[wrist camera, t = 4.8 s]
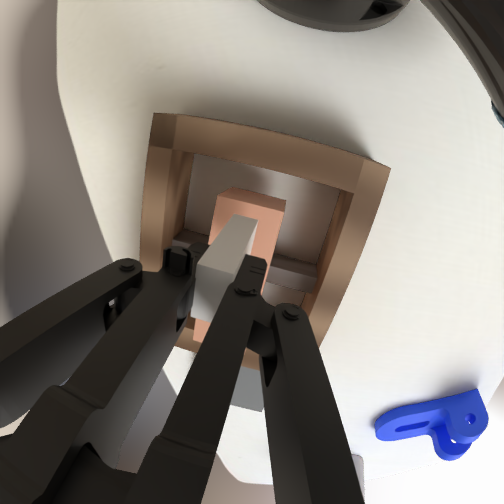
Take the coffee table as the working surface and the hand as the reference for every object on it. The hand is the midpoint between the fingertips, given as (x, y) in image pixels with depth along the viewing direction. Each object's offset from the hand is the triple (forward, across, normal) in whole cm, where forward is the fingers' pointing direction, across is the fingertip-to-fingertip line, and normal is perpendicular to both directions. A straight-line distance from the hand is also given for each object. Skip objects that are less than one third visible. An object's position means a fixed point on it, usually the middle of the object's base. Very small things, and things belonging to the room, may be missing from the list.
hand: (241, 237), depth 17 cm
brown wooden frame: (+8, 0, -5) cm, 10 cm away
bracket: (+9, +34, -25) cm, 43 cm away
